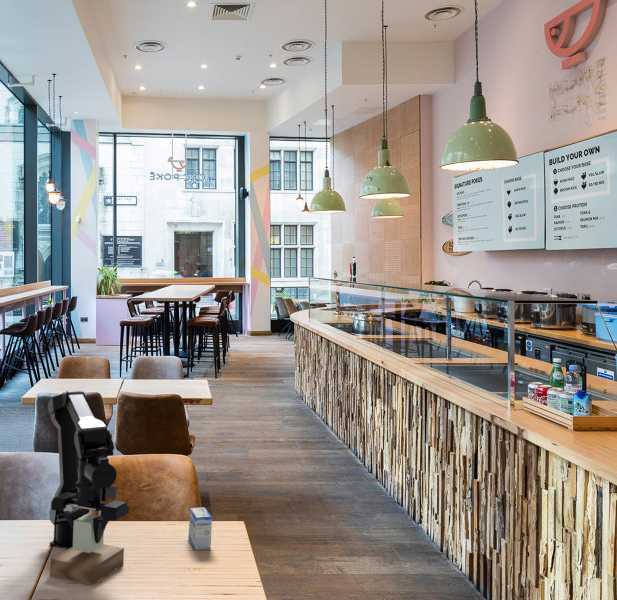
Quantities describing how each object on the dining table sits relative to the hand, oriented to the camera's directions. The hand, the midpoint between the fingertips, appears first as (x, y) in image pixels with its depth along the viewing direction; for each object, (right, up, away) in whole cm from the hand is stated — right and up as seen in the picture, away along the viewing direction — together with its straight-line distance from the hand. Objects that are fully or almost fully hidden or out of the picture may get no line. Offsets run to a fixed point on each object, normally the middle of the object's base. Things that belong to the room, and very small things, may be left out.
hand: (88, 541), depth 154 cm
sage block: (0, -2, 0) cm, 2 cm away
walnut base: (0, -7, 0) cm, 7 cm away
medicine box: (+24, -8, +18) cm, 31 cm away
